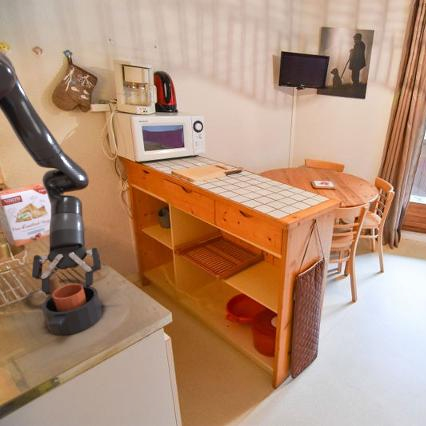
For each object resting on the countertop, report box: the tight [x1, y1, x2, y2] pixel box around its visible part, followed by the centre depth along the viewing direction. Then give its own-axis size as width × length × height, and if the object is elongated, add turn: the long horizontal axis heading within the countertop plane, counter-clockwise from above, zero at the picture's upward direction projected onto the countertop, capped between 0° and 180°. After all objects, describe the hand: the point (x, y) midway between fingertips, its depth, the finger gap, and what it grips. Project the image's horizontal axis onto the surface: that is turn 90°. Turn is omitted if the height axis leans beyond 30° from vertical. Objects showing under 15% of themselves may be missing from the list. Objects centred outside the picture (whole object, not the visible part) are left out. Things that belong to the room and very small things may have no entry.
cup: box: [52, 283, 87, 312], centre depth 84 cm, size 6×6×9 cm
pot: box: [41, 281, 103, 337], centre depth 85 cm, size 12×17×7 cm
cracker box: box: [0, 183, 51, 248], centre depth 117 cm, size 14×6×21 cm, turn 154°
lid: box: [48, 273, 61, 297], centre depth 92 cm, size 13×13×7 cm
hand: (68, 290), depth 83 cm, fingers open, 8 cm apart
